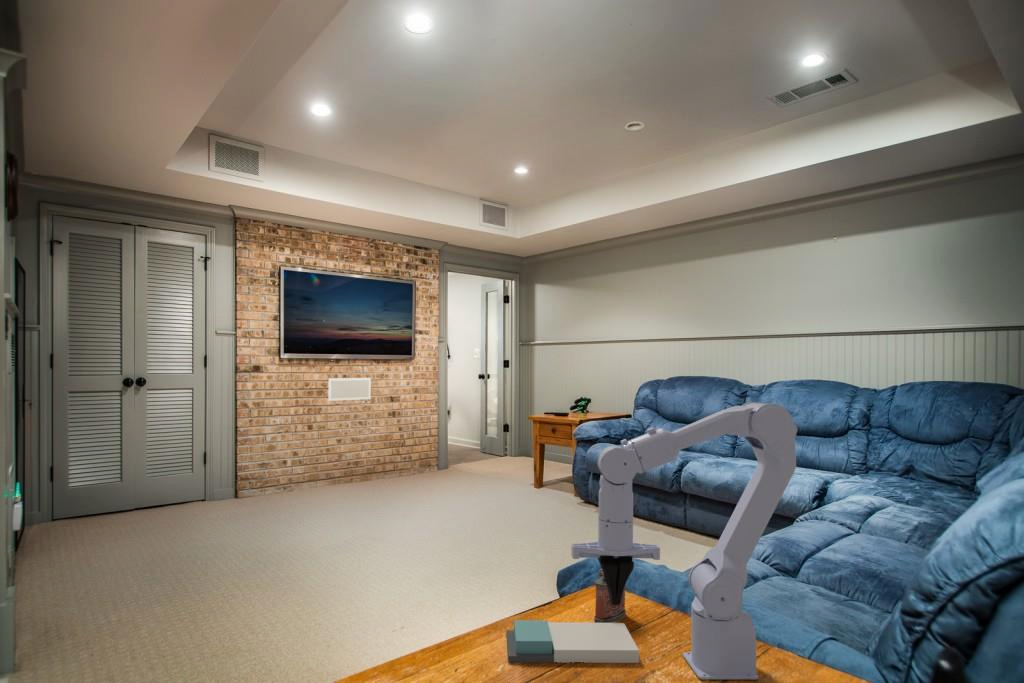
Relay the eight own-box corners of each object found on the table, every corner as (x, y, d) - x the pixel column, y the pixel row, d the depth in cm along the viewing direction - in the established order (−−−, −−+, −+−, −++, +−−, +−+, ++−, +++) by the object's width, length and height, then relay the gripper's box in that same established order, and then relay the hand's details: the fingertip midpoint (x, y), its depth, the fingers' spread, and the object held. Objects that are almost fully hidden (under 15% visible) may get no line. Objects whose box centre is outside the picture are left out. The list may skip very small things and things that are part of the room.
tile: (547, 632, 101) (547, 620, 101) (552, 653, 93) (552, 641, 93) (513, 631, 100) (513, 620, 101) (515, 653, 92) (516, 640, 93)
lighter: (615, 610, 114) (616, 559, 114) (629, 615, 111) (630, 563, 112) (590, 620, 108) (590, 567, 109) (604, 626, 106) (604, 572, 107)
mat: (547, 636, 101) (547, 630, 101) (554, 662, 92) (554, 656, 92) (506, 635, 101) (506, 630, 101) (508, 662, 91) (508, 656, 92)
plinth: (623, 634, 103) (623, 622, 103) (638, 662, 92) (639, 650, 92) (547, 633, 102) (547, 622, 102) (554, 662, 92) (554, 649, 92)
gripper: (651, 513, 99) (651, 593, 98) (569, 512, 98) (567, 592, 97) (664, 524, 92) (663, 610, 91) (575, 522, 91) (574, 609, 90)
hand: (614, 602), depth 93 cm, fingers closed
